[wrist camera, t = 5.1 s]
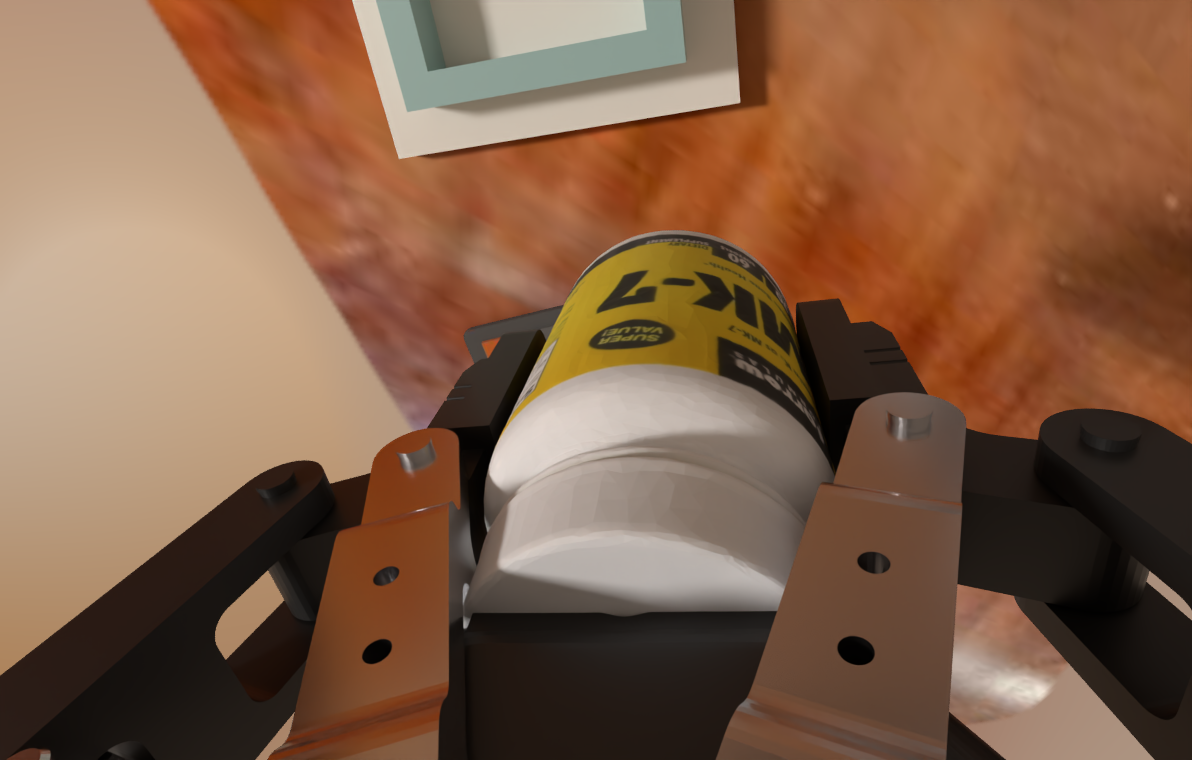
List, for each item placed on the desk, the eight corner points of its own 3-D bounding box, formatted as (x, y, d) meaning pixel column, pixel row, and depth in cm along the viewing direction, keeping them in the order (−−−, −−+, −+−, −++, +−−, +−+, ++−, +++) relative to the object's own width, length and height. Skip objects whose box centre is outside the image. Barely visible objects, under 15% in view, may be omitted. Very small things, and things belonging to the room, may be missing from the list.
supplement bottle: (832, 271, 13) (1003, 613, 6) (734, 453, 15) (764, 858, 8) (600, 188, 13) (467, 430, 5) (538, 386, 15) (388, 736, 8)
